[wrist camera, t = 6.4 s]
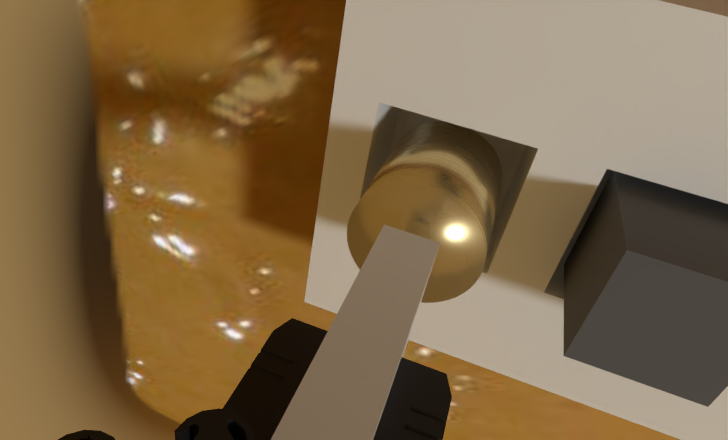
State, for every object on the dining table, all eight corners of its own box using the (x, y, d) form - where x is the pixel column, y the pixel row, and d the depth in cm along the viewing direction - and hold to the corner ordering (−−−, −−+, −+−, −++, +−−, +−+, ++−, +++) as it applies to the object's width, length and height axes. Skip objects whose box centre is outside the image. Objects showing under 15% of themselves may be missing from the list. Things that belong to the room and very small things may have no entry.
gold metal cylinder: (401, 107, 17) (358, 165, 14) (518, 141, 17) (506, 212, 13) (379, 204, 20) (338, 276, 16) (482, 237, 19) (463, 320, 16)
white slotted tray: (403, -82, 18) (356, -72, 14) (1167, 93, 14) (1401, 175, 10) (344, 237, 26) (304, 301, 22) (821, 399, 22) (876, 511, 18)
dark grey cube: (613, 168, 16) (627, 249, 13) (748, 208, 16) (803, 305, 12) (564, 264, 19) (563, 356, 15) (679, 302, 18) (708, 406, 14)
